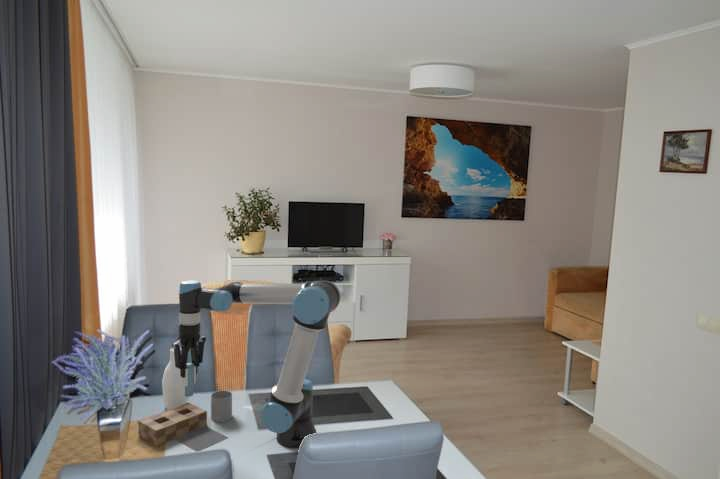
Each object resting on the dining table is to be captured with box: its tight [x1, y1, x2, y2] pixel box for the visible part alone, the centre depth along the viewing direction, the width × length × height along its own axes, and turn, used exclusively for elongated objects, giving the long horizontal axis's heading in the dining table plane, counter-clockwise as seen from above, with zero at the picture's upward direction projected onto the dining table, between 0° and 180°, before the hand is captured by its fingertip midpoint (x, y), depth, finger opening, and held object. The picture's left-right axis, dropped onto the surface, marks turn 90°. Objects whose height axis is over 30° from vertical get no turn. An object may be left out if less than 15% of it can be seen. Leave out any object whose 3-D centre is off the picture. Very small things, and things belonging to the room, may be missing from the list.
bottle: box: [161, 347, 189, 411], centre depth 229 cm, size 11×11×25 cm
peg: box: [185, 362, 194, 398], centre depth 201 cm, size 3×3×12 cm
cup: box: [210, 390, 233, 423], centre depth 220 cm, size 8×8×10 cm
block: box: [137, 402, 208, 446], centre depth 209 cm, size 12×22×6 cm, turn 142°
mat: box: [174, 426, 229, 452], centre depth 203 cm, size 14×14×1 cm
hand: (188, 383), depth 201 cm, fingers closed on peg, 3 cm apart
